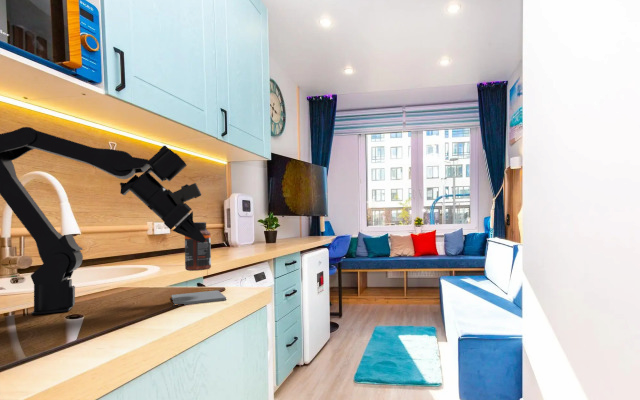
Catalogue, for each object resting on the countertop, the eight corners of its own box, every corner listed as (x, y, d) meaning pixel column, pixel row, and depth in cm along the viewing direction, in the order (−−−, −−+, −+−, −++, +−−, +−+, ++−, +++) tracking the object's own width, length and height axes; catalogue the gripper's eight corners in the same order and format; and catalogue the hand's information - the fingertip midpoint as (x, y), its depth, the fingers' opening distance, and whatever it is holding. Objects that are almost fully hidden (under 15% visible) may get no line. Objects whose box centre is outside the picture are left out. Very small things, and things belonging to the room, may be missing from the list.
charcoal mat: (174, 305, 84) (174, 303, 84) (171, 297, 94) (171, 295, 94) (226, 300, 88) (226, 297, 88) (218, 292, 98) (218, 290, 98)
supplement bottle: (216, 268, 95) (215, 221, 96) (200, 271, 90) (199, 222, 90) (196, 267, 97) (196, 222, 98) (179, 270, 92) (179, 222, 93)
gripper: (180, 166, 85) (232, 216, 88) (180, 176, 102) (223, 217, 105) (140, 202, 82) (196, 253, 85) (147, 206, 99) (192, 248, 102)
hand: (203, 241), depth 94 cm, fingers closed on supplement bottle, 6 cm apart
